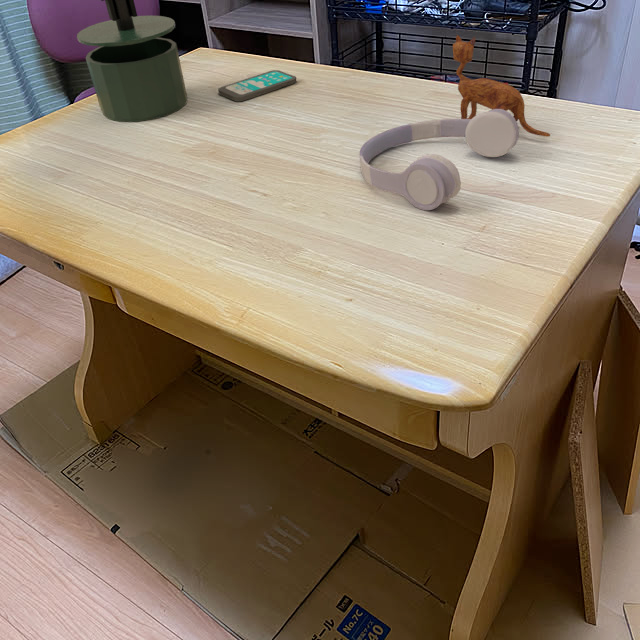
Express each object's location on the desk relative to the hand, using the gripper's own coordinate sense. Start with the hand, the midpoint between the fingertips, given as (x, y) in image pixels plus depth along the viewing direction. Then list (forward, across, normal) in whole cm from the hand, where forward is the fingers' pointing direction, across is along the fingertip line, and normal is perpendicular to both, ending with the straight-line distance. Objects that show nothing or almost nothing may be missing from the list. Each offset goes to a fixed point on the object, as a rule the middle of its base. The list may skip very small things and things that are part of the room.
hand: (123, 17), depth 113 cm
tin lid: (+3, 0, 0) cm, 3 cm away
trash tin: (+16, 0, 0) cm, 16 cm away
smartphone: (+16, +22, -6) cm, 28 cm away
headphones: (+16, +27, -56) cm, 64 cm away
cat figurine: (+17, +44, -52) cm, 70 cm away
